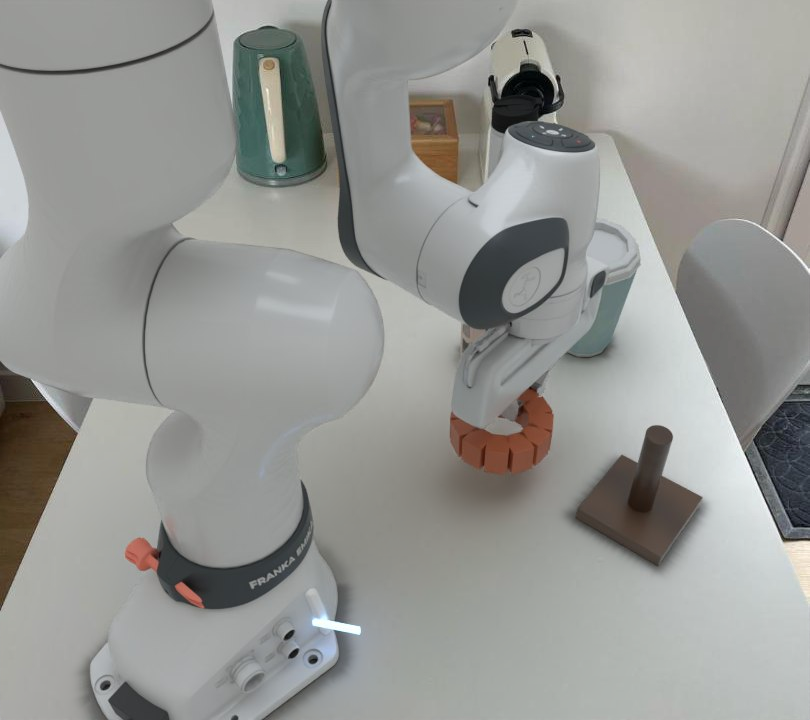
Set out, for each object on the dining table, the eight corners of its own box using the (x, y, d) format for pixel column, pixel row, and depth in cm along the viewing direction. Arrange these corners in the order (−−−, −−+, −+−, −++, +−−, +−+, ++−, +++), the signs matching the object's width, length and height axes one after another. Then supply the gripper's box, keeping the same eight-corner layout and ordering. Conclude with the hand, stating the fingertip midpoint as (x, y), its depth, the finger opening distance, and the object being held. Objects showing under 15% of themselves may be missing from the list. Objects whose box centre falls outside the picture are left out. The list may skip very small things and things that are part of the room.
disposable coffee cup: (636, 364, 97) (659, 262, 87) (549, 375, 96) (562, 273, 86) (606, 309, 105) (625, 210, 95) (525, 319, 104) (536, 219, 94)
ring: (512, 490, 76) (514, 469, 74) (430, 441, 81) (430, 420, 79) (569, 431, 82) (572, 410, 80) (489, 388, 87) (490, 368, 85)
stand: (658, 566, 77) (683, 489, 69) (575, 517, 81) (590, 440, 73) (699, 506, 82) (727, 428, 74) (619, 463, 86) (638, 385, 78)
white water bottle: (532, 242, 117) (545, 111, 103) (486, 242, 117) (493, 111, 103) (527, 218, 121) (540, 90, 108) (483, 219, 122) (490, 90, 108)
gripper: (496, 368, 66) (487, 479, 75) (619, 259, 78) (599, 367, 87) (436, 337, 69) (434, 448, 78) (563, 237, 81) (549, 343, 90)
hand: (521, 404), depth 83 cm, fingers closed on ring, 2 cm apart
